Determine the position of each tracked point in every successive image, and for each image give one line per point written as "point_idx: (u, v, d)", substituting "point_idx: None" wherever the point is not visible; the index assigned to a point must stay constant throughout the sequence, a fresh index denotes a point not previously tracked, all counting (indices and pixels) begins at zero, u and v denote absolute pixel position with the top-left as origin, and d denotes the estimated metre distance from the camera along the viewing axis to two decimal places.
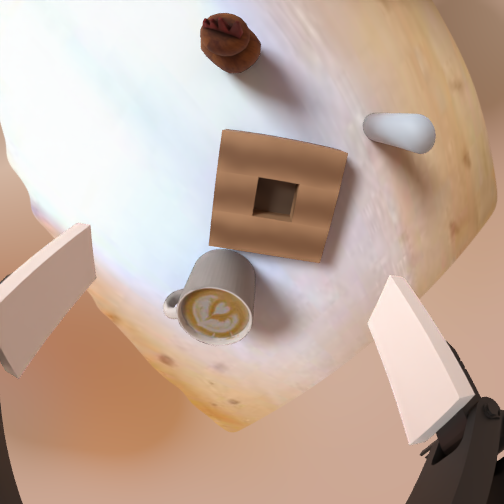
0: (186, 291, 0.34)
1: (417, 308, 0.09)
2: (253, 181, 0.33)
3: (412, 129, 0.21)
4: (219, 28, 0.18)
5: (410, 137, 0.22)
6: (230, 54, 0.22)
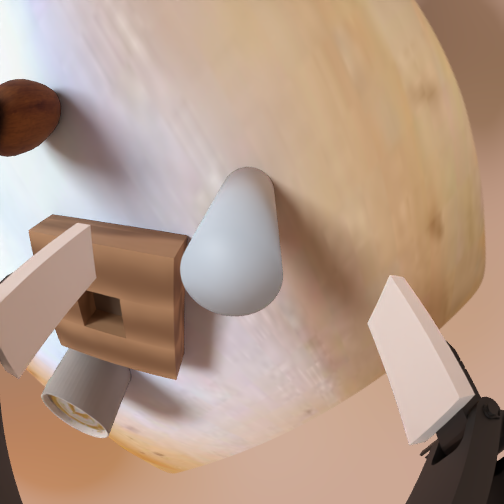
0: None
1: (417, 308, 0.09)
2: None
3: (206, 269, 0.11)
4: None
5: (204, 287, 0.11)
6: None
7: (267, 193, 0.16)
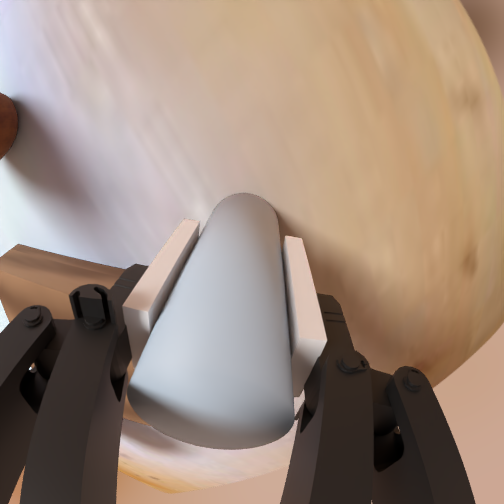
0: None
1: (297, 261, 0.11)
2: None
3: (168, 408, 0.06)
4: None
5: (169, 422, 0.06)
6: None
7: (270, 243, 0.11)
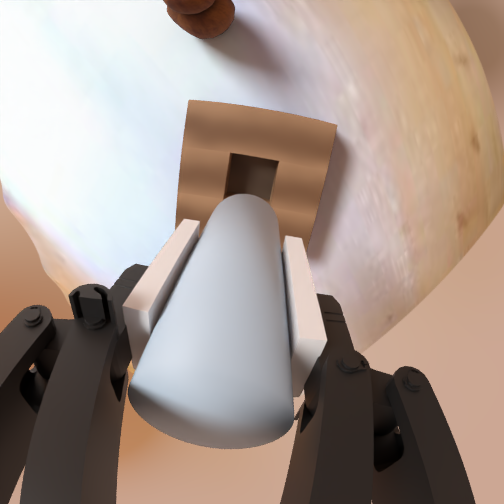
0: None
1: (297, 261, 0.11)
2: (223, 158, 0.27)
3: (169, 407, 0.06)
4: None
5: (169, 422, 0.06)
6: (193, 10, 0.16)
7: (270, 243, 0.11)
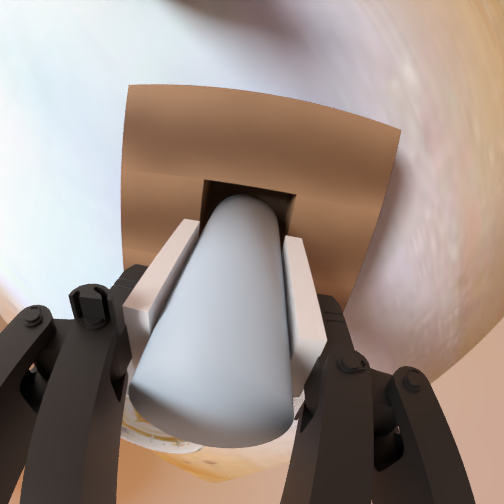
0: None
1: (297, 261, 0.11)
2: (193, 189, 0.15)
3: (169, 406, 0.06)
4: None
5: (170, 421, 0.06)
6: None
7: (269, 243, 0.11)
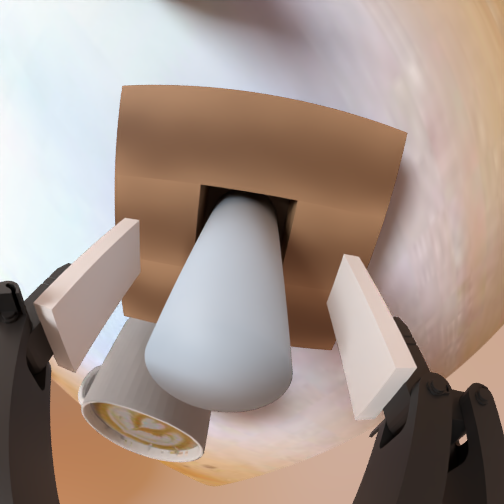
0: (86, 398, 0.15)
1: (365, 283, 0.10)
2: (189, 195, 0.14)
3: (181, 365, 0.07)
4: None
5: (180, 383, 0.07)
6: None
7: (269, 229, 0.12)
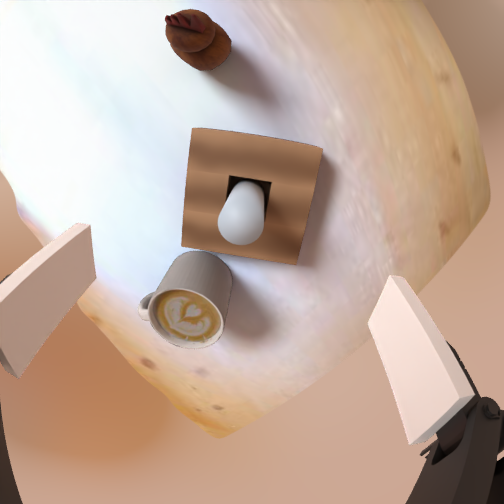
0: (156, 293, 0.32)
1: (417, 308, 0.09)
2: (223, 179, 0.32)
3: (230, 220, 0.24)
4: (181, 24, 0.17)
5: (228, 229, 0.24)
6: (194, 50, 0.21)
7: (258, 191, 0.30)
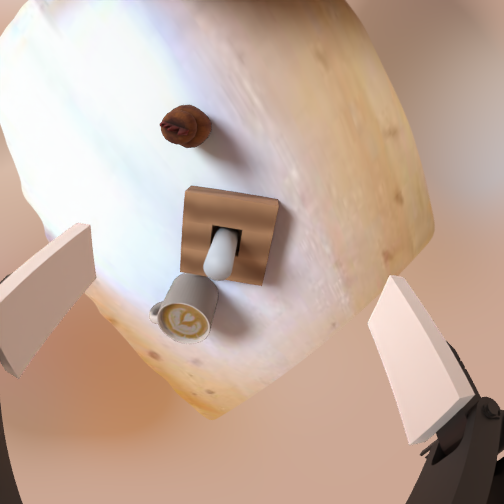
0: (163, 305, 0.46)
1: (417, 308, 0.09)
2: (208, 228, 0.46)
3: (210, 266, 0.38)
4: None
5: (210, 271, 0.39)
6: (183, 143, 0.35)
7: (232, 239, 0.44)
